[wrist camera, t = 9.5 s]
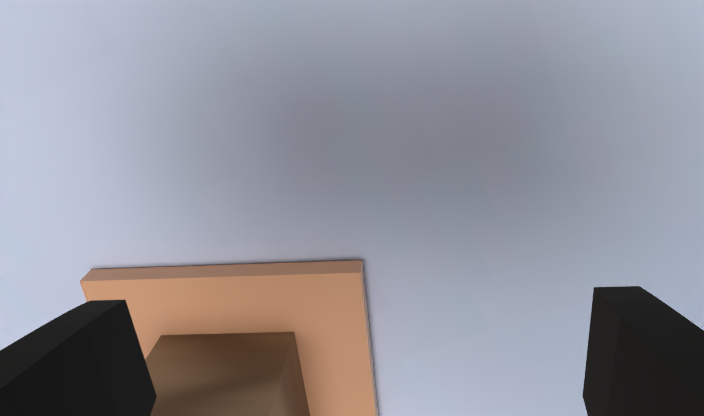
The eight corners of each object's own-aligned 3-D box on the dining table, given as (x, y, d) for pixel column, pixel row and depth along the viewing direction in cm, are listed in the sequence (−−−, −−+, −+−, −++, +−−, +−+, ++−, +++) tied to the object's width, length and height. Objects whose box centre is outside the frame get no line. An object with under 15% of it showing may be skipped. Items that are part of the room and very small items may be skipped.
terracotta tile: (362, 260, 19) (360, 272, 18) (383, 465, 23) (383, 482, 22) (91, 269, 20) (79, 281, 19) (158, 462, 24) (150, 478, 24)
